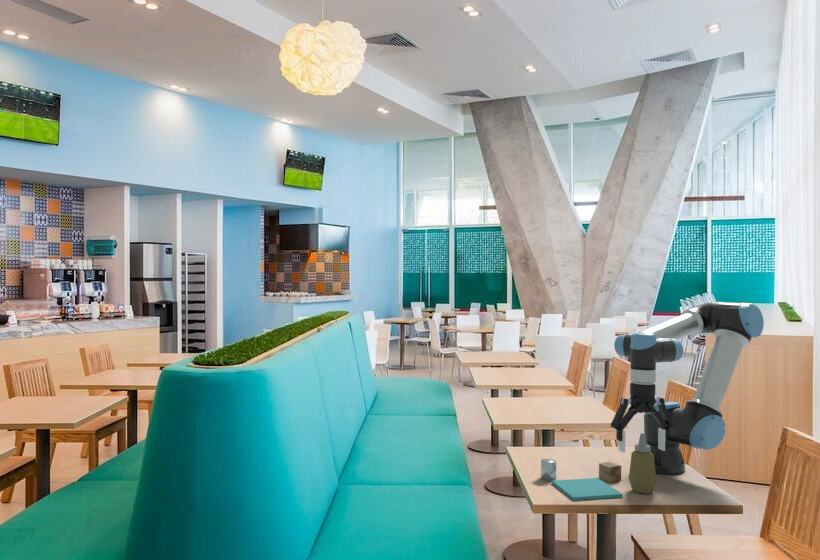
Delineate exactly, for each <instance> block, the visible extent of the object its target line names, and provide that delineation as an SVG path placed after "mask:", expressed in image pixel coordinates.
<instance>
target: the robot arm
mask: <svg viewBox="0 0 820 560" xmlns="http://www.w3.org/2000/svg"><path fill="white" fill-rule="evenodd" d="M764 325H765V323H764V317H763V314H762V311H761V309H760V308H759V307H758V305H756V304H755V303H750V302H744V301H743V302H727V301H726V302H725V301H710V302H706V303H701V304H698V305H696V306H693V307H690V308H689V309H686V310H683V311H682V312H681V314H680V315H678V316H676V317H673V318H671V319H669V320H665V321H663V322H660V323H659V324H656V325H653V326H651V327H648V328H645V329H644V330H642V331H638V332H634V333H632V334H619V335H618V336H617V337H616V338H615V340H614V345H613V346H614V350H615V353H616V354H617V355H618V356H621V357H625V358H630V371H629V372H630V375H629V376H630V377H629V380H630V381H631V382H630V383H629V394H630V398H624V397H621V398H620V402H619V405H618V408H617V410H616V412H615V415H614V417H613V418H612V421H611V423H610V428H612V429H614V430H616V432H615V433H616V434H615V435H616V437H615V438H616V440H617V441H618V451H619V452H621V453H626V430H625V428H626V427H627V426H628V424H629V423H630V422H631V420H632V419H633V418H634V416H635V415H637V414H643V413H644V414H643V432H644V433H643V434H645V438H646V443H647V445H650V446H651V447H650V452H651V453H652V454H653V455H654V464H655V473H656V474H664V475H677V474H678V475H679V474H682V473H685V471H686V463H685V462H686V461H685V460H684V457H683V456H684V455H683V453H682V450H681V446H680V445H685V446H689V447H692V448H695V449H698V450H706V451H709V450H710V451H711V450H713V449H716V448H717V447H718V446H719V445H720V444H721V443H722V442H723V440H724V439H725V434H726V423H725V421H724V419H723V413H722V411H721V406H722V404H723V401H724V399H725V396H726V393H727V390H728V387H729V385H730V382H731V380H732V377H733V375H734V371H735V369H736V367H737V363H738V361H739V359H740V355H741V352H742V350H743V348H745V347H748V346H749V345H750V343H751V340H752V339H753V338H758V337H760V336H761V335H762V334H763V332H764V331H763V330H764ZM700 334H713V335H714V337H715V338H716V339H715V342H714V344H713V347H712V349H711V352H710V354H709V357H708V359H707V362H706V365H705V367H704V369H703V372H702V375H701V378H700V380H699V383H698V386H697V388H696V390H695V394H694V395H693V398H692V399H690V400H687V401H686V404H685V405H684V407H683V408H681V404H680V403H679V402H678V401H677V402H676V401H665V398H664V397H660V396H657V397H655V396H656V387H657V386H656V384H655V383H656V382H657V379H656V378H657V376H656V373H657V370H656V368H657V367H656V366H657V365H656V364H657V363H672V362H677V361H680V360H681V359H682V357H683V355H684V345H683V344H682V342H681V341H680V340H681V339H683V338H686V337H687V336H699V335H700ZM628 406H629V408H628ZM626 410H627V411H626Z"/></svg>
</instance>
